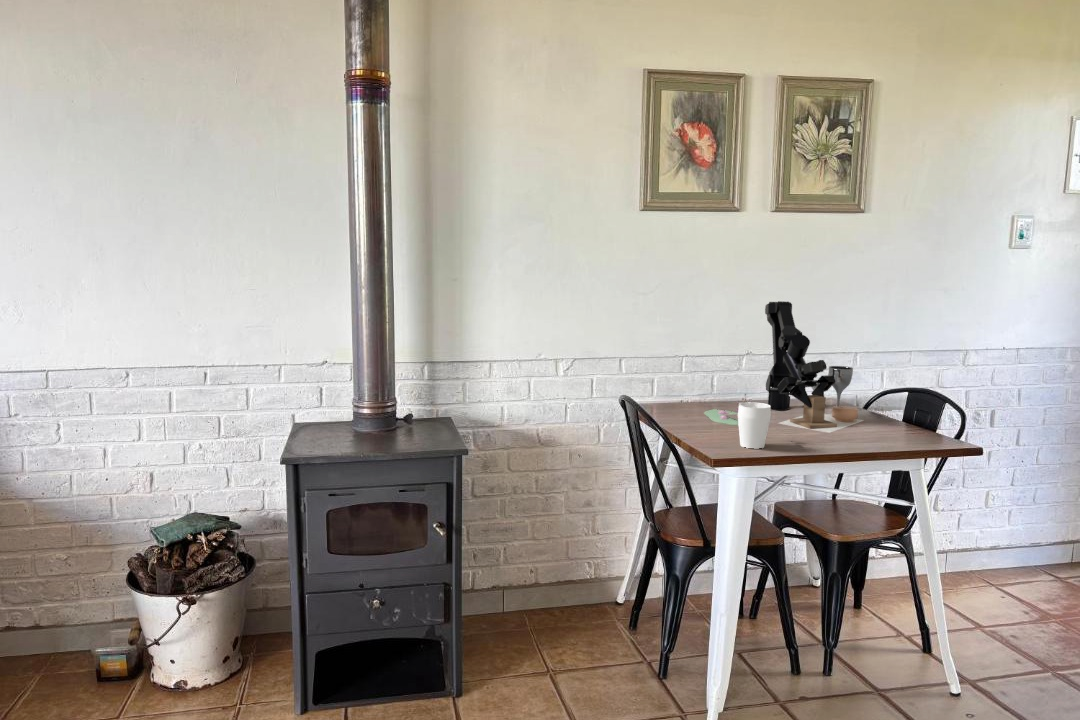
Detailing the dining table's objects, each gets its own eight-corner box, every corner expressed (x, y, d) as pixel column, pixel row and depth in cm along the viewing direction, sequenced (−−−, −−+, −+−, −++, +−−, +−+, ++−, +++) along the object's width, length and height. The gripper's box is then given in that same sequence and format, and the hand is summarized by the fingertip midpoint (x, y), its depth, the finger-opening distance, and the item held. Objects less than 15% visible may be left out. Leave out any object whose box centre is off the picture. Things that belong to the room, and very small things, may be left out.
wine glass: (853, 412, 277) (856, 369, 275) (830, 411, 277) (833, 369, 275) (845, 407, 285) (848, 366, 283) (822, 407, 285) (825, 365, 283)
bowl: (827, 419, 259) (827, 407, 259) (837, 416, 265) (838, 404, 264) (851, 424, 254) (852, 411, 253) (861, 420, 259) (862, 408, 259)
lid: (789, 421, 255) (791, 394, 254) (815, 420, 258) (817, 392, 257) (810, 429, 246) (812, 400, 244) (836, 427, 249) (838, 398, 248)
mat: (777, 426, 253) (777, 423, 253) (814, 414, 272) (814, 411, 271) (829, 435, 241) (829, 432, 241) (864, 423, 260) (864, 420, 260)
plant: (684, 415, 270) (685, 388, 268) (727, 409, 281) (728, 383, 280) (740, 430, 249) (741, 401, 248) (784, 423, 261) (785, 395, 259)
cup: (731, 442, 231) (733, 401, 229) (761, 442, 232) (764, 401, 230) (742, 450, 222) (744, 408, 220) (773, 450, 223) (776, 408, 221)
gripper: (785, 352, 249) (805, 393, 241) (834, 350, 255) (855, 390, 247) (768, 372, 258) (787, 413, 249) (816, 370, 264) (836, 410, 255)
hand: (817, 406), depth 250 cm, fingers closed on lid, 4 cm apart
